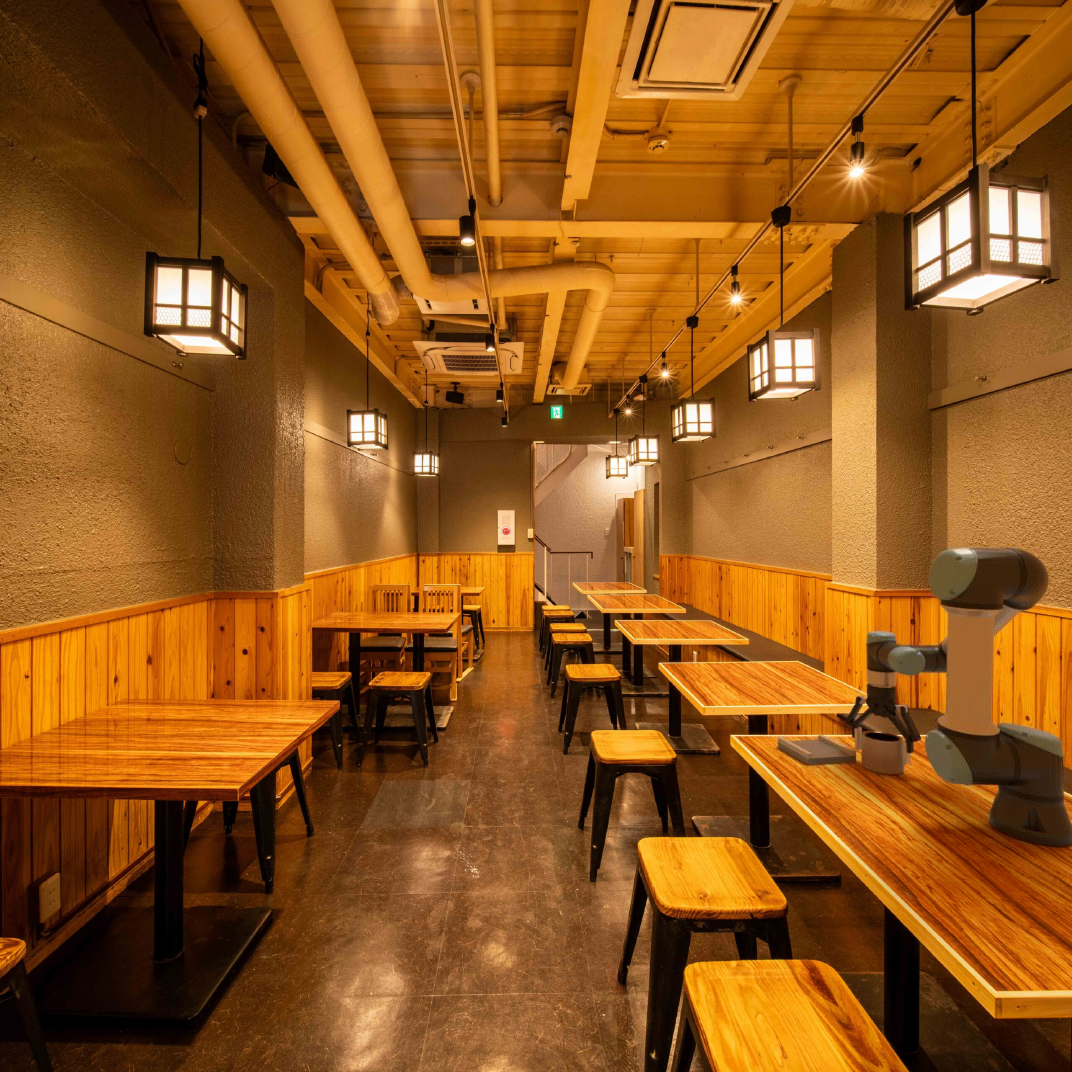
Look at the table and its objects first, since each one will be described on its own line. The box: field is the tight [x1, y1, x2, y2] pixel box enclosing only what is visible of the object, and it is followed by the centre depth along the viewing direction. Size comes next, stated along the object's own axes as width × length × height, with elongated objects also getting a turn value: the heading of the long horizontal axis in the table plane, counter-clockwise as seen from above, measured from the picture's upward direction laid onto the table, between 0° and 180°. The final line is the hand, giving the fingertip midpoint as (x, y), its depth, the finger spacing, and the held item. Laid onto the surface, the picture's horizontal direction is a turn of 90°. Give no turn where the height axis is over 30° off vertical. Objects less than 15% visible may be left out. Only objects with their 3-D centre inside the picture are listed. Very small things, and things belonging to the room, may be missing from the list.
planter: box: [860, 730, 905, 776], centre depth 174 cm, size 11×11×10 cm
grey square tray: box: [777, 734, 857, 766], centre depth 186 cm, size 16×16×3 cm
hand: (881, 756), depth 175 cm, fingers open, 13 cm apart
